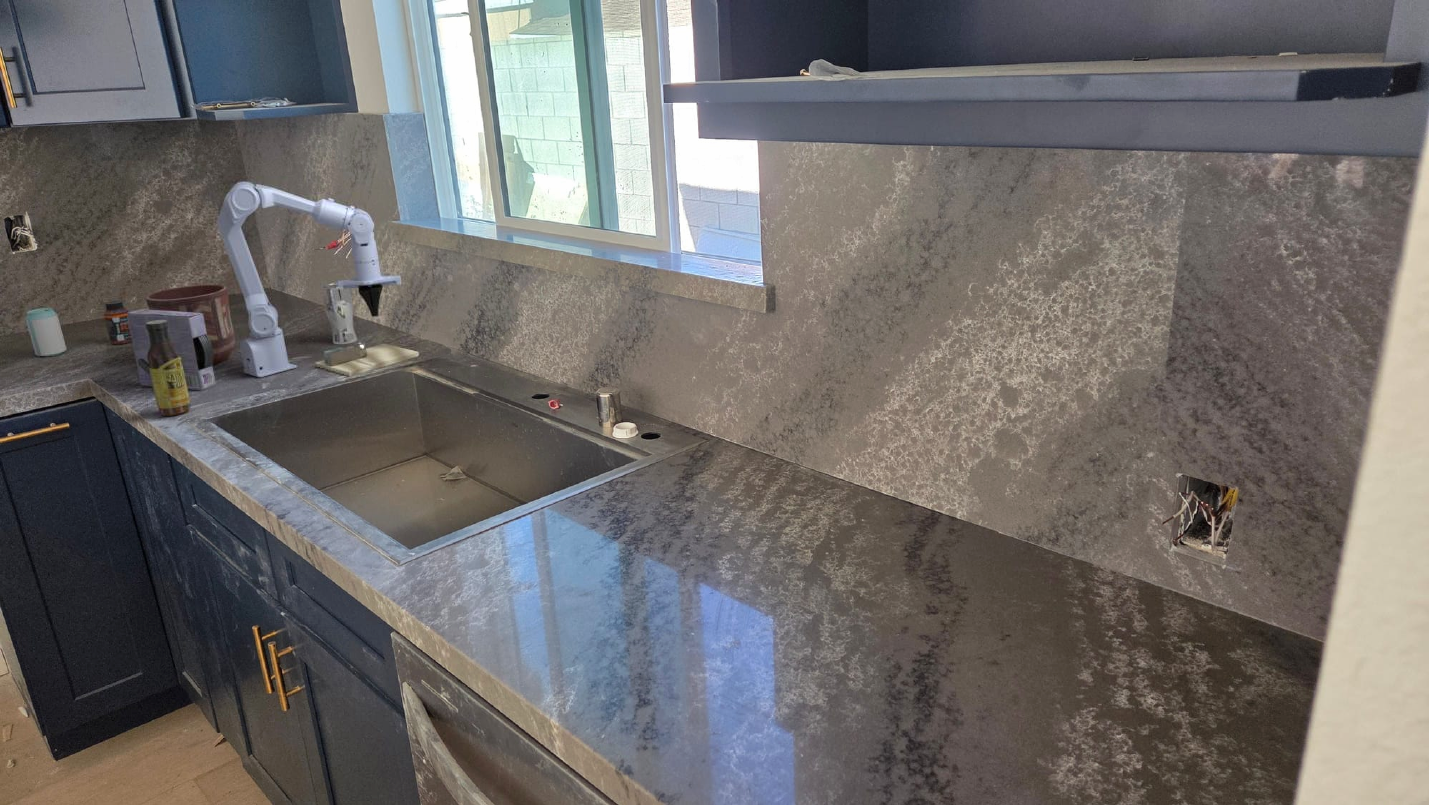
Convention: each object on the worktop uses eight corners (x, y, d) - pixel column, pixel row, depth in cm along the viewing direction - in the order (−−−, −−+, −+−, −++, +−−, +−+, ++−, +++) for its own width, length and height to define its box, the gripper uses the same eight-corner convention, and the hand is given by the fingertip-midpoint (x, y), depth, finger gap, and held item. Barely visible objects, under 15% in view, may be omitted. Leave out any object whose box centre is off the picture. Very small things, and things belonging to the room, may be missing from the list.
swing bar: (363, 354, 246) (361, 340, 245) (369, 355, 245) (367, 342, 243) (327, 364, 239) (324, 350, 238) (332, 365, 238) (330, 352, 236)
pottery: (202, 374, 241) (186, 300, 235) (146, 370, 246) (129, 298, 241) (256, 354, 257) (242, 284, 251) (202, 350, 262) (187, 283, 256)
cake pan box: (222, 384, 232) (205, 310, 226) (205, 391, 227) (188, 316, 222) (157, 380, 238) (139, 308, 232) (140, 387, 233) (121, 313, 227)
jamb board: (349, 376, 233) (347, 360, 232) (315, 366, 242) (312, 351, 241) (418, 355, 246) (416, 340, 245) (384, 347, 256) (381, 332, 254)
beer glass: (341, 346, 259) (330, 289, 254) (325, 342, 263) (315, 286, 258) (364, 339, 264) (354, 283, 259) (349, 336, 268) (339, 281, 263)
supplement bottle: (127, 344, 272) (117, 304, 268) (106, 345, 272) (95, 305, 268) (140, 338, 277) (130, 298, 274) (119, 339, 278) (108, 299, 274)
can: (54, 349, 270) (42, 306, 266) (73, 351, 268) (61, 307, 264) (30, 357, 264) (17, 313, 260) (49, 358, 262) (36, 314, 258)
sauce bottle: (178, 417, 211) (156, 326, 204) (152, 417, 212) (130, 326, 205) (199, 407, 217) (178, 318, 210) (174, 406, 218) (153, 317, 211)
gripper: (332, 266, 237) (341, 322, 242) (395, 261, 239) (403, 316, 244) (337, 261, 244) (346, 315, 248) (398, 255, 246) (406, 309, 250)
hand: (375, 315), depth 246 cm, fingers closed
